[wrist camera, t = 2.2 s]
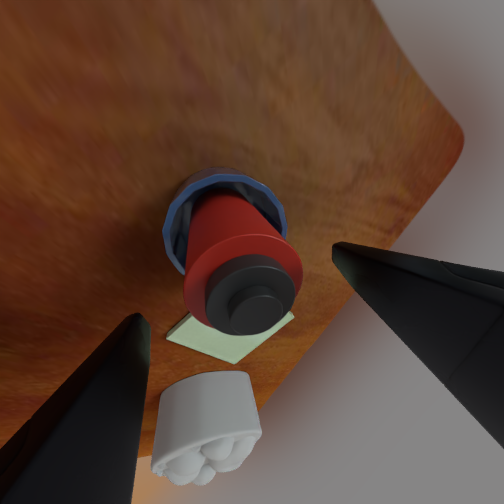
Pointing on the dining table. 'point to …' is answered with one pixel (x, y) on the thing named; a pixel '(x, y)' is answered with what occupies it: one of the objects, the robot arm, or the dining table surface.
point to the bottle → (237, 266)
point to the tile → (219, 339)
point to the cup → (202, 182)
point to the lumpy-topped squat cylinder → (205, 427)
